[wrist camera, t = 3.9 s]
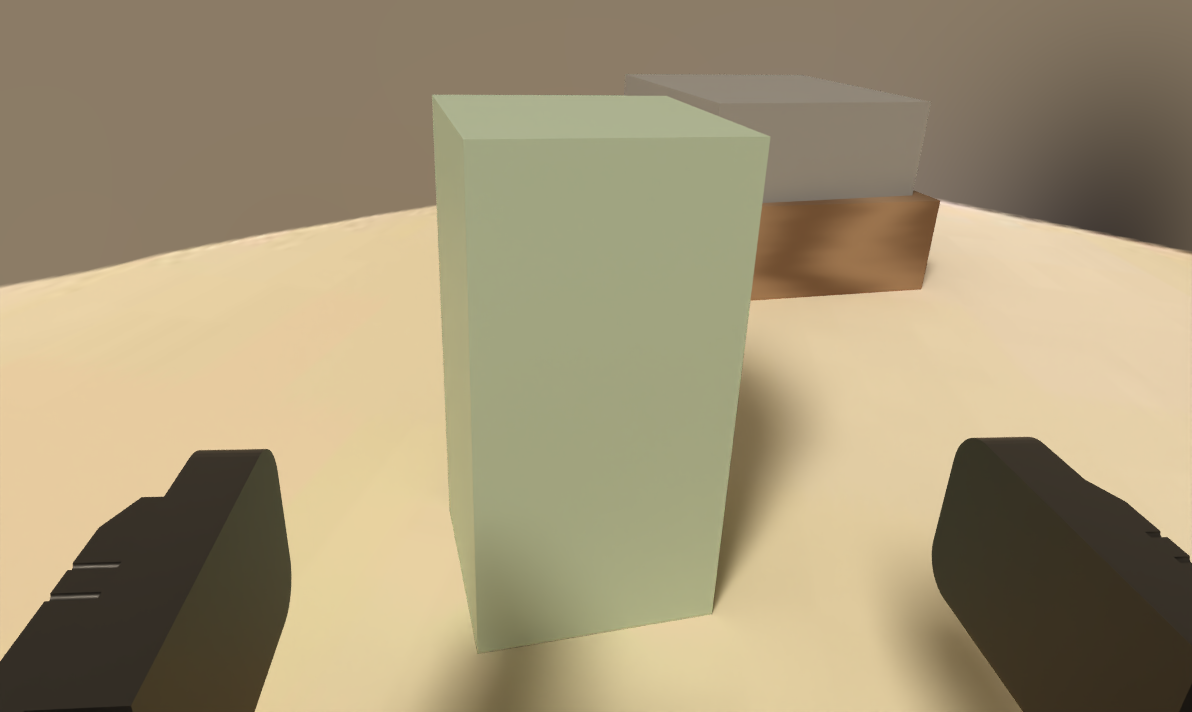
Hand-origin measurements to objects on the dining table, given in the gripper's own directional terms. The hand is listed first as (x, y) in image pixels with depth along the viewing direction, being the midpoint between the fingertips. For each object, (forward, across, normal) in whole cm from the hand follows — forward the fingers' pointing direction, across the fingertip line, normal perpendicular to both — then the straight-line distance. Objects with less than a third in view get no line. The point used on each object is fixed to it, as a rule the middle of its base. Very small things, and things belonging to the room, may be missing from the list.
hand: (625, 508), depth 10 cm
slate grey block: (+30, -10, +2) cm, 32 cm away
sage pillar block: (+7, 0, +7) cm, 10 cm away
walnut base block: (+31, -10, +7) cm, 33 cm away
